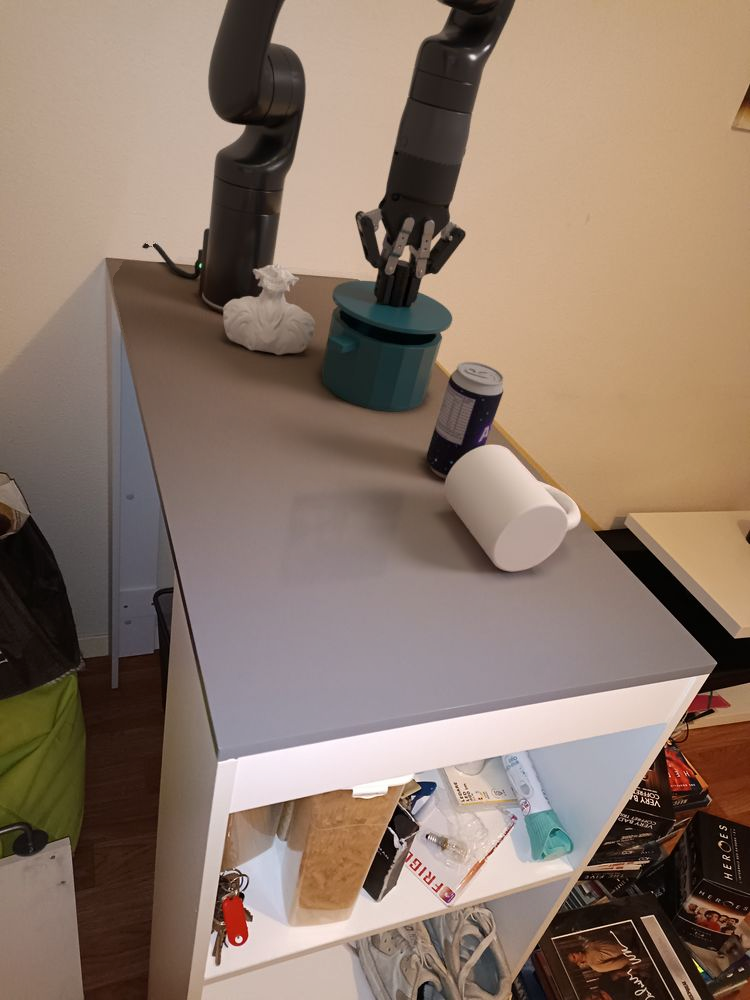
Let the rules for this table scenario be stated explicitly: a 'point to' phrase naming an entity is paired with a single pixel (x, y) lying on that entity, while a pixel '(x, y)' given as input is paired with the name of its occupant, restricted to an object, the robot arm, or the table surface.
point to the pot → (378, 364)
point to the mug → (508, 507)
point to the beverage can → (464, 415)
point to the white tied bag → (269, 316)
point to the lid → (393, 305)
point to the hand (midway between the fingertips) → (393, 302)
